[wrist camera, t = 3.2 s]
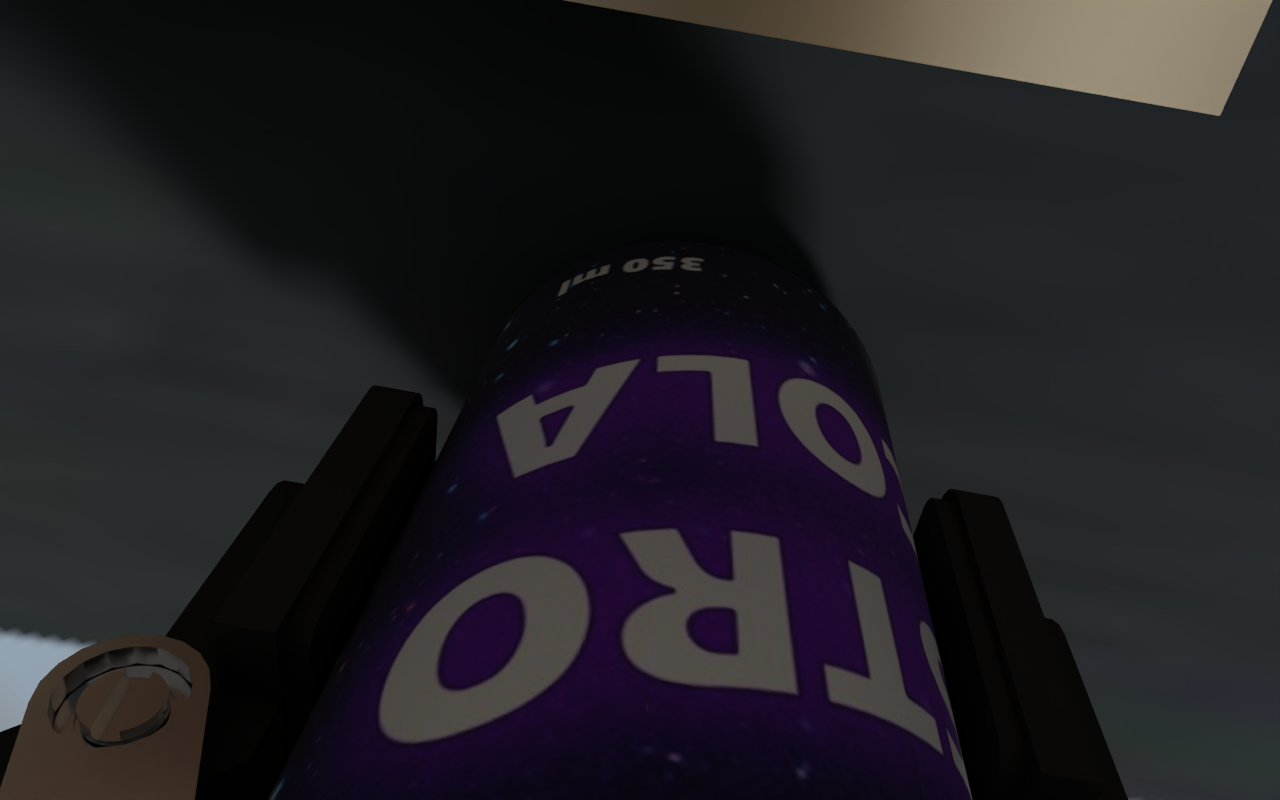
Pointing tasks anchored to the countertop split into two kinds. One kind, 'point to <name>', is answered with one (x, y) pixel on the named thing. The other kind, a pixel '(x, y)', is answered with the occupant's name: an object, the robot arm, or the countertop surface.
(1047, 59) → the base board
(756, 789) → the beverage can
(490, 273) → the countertop surface
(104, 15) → the countertop surface
